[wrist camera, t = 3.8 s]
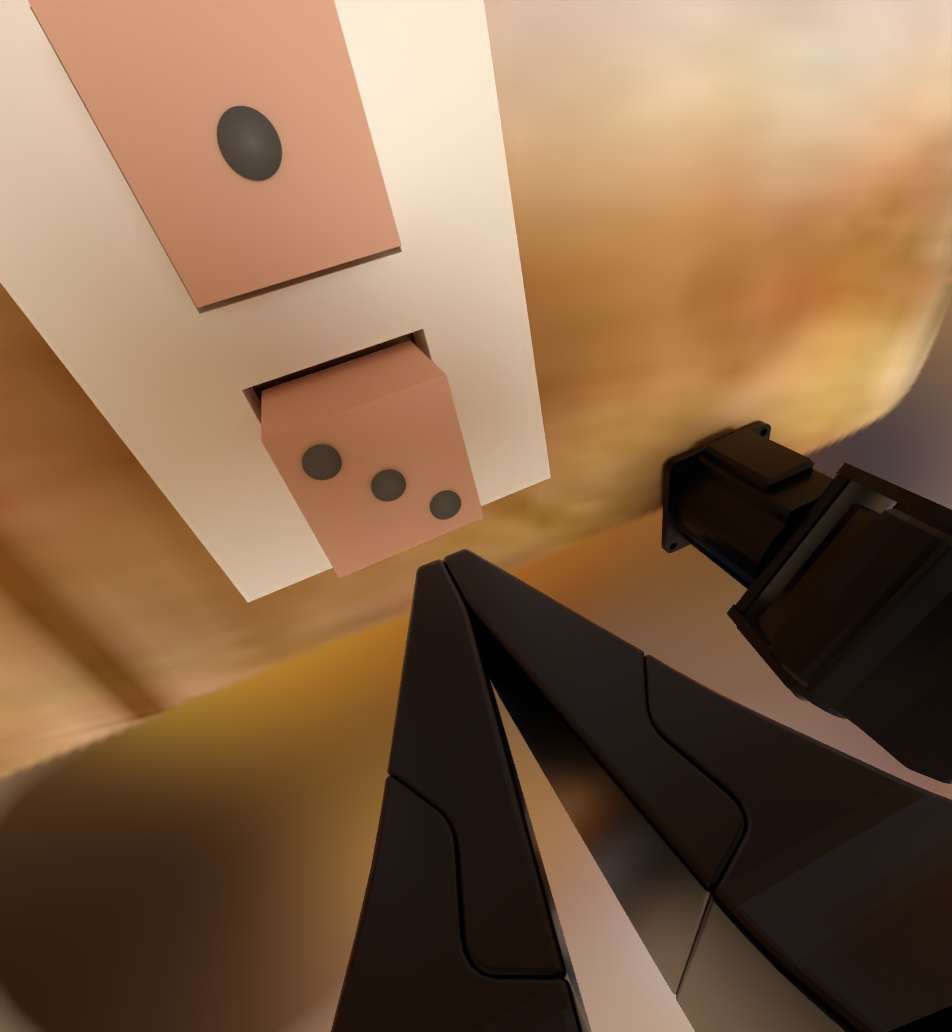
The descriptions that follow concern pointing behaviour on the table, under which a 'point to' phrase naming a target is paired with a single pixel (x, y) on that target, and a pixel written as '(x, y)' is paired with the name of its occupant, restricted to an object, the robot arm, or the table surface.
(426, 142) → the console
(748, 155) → the table surface
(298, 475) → the tile three dots
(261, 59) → the tile one dot
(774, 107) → the table surface
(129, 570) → the table surface
